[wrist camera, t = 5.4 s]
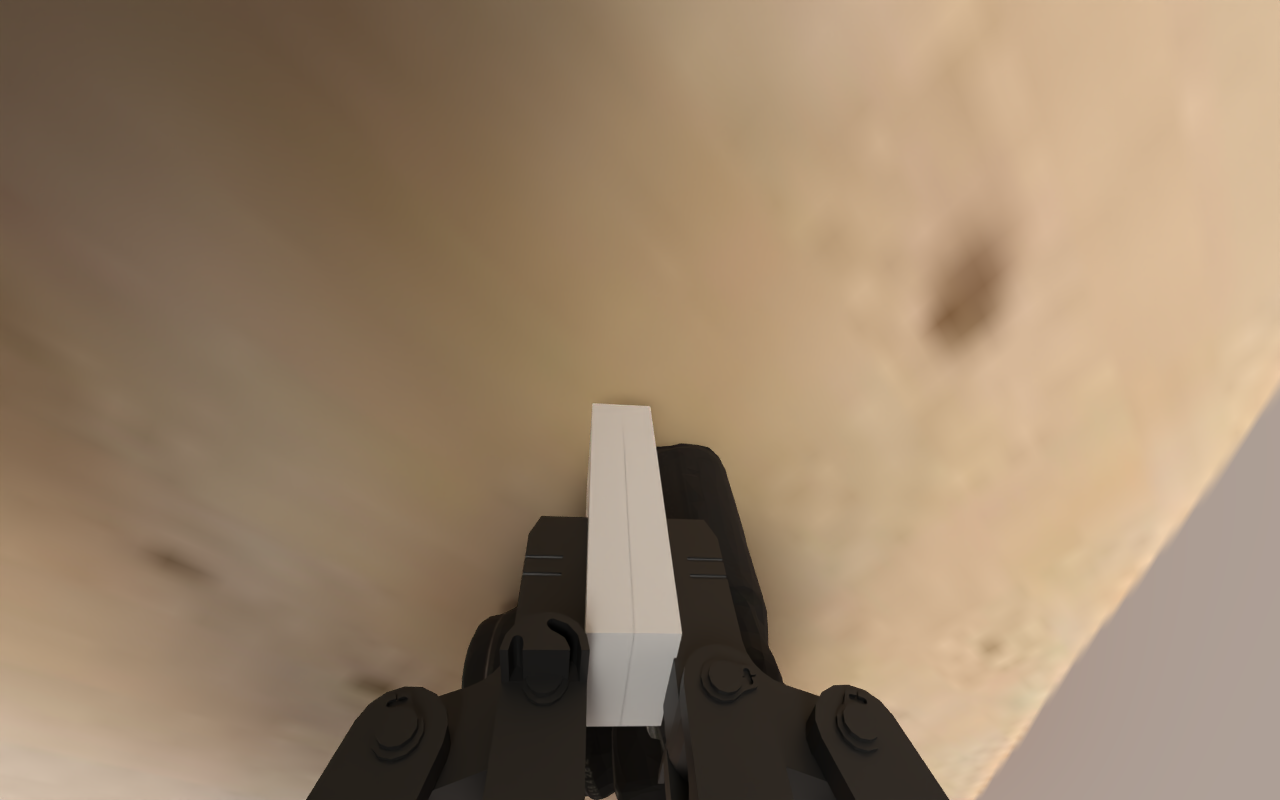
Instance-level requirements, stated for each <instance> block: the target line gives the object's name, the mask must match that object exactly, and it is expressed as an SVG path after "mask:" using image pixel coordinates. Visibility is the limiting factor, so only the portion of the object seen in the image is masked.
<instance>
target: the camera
mask: <svg viewBox="0 0 1280 800" xmlns="http://www.w3.org/2000/svg"><path fill="white" fill-rule="evenodd" d="M656 451H657V458H658V465H659V472H660V479H661V486H662V493H663V501H664V508H665V515H666V519H693V520H704V521H705V522H706V523H707V525H708V526H709V527H710V529H711V530H712V531H713V533H714V534H715V535H716V537H717V538H718V543H719V547H720V551H721V555H722V562H723V563H724V567H725V572H726V579H727V580H728V584H729V588H730V592H731V596H732V600H733V605H734V609H735V613H736V617H737V621H738V625H739V629H740V633H741V638H742V642H743V644H744V647H745V650H746V652H747V654H748V655H749V657H750V658H751V660H752V661H753V663H754V664H755V665H756V666H757V667H758V668H759V669H760V670H761V671H762V672H763V673H765V674H766V675H768V676H769V677H770V678H772V679H773V680H775V681H778V682H780V683H782V684H784V683H783V680H782V676H781V674H780V671H779V669H778V666H777V664H776V662H775V659H774V657H773V655H772V653H771V651H770V649H769V646H768V624H767V610H766V607H765V603H764V600H763V596H762V593H761V590H760V586H759V583H758V580H757V577H756V573H755V570H754V567H753V563H752V560H751V557H750V553H749V550H748V547H747V543H746V539H745V535H744V531H743V528H742V524H741V521H740V517H739V514H738V511H737V507H736V504H735V500H734V497H733V494H732V491H731V488H730V484H729V481H728V478H727V474H726V471H725V468H724V466H723V465H722V462H721V460H720V459H719V457H718V456H717V455H716V454H715V453H714V452H713V451H712V450H711V449H710V448H708V447H704V446H700V445H692V444H677V445H672V446H662V447H656ZM516 612H517V607H516V608H514V609H512V610H511V611H509V612H507V613H504V614H500V615H496V616H491V617H489V618H488V619H486V620H484V621H483V622H482V623H481V624H480V625H479V626H478V628H477V630H476V632H475V634H474V636H473V638H472V640H471V642H470V645H469V647H468V650H467V654H466V659H465V663H464V669H463V676H462V689H463V688H466V687H469V686H471V685H473V684H476V683H478V682H480V681H482V680H484V679H485V678H486V677H488V676H489V675H491V674H492V673H493V672H494V671H495V670H496V669H497V668H498V667H499V666H500V651H499V650H500V647H501V644H502V642H503V639H504V637H505V634H506V633H507V632H508V631H509V630H510V629H511V628H512V627H513V626H514V625H515V619H516ZM784 685H785V684H784ZM665 744H666V732H665V721H664V714H663V718H662V723H661V726H590V727H586V757H585V796H589V797H590V798H592V799H594V800H599V799H603V798H606V797H608V796H609V795H611V794H613V793H614V792H615V794H616V797H617V799H618V800H666V792H665V781H664V784H658V776H659V768H660V764H661V760H662V756H663V752H664V748H665Z"/></svg>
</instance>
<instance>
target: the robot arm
mask: <svg viewBox="0 0 1280 800" xmlns="http://www.w3.org/2000/svg"><path fill="white" fill-rule="evenodd" d="M499 651H500V666H499V667H498V668H497V669H496V670H495V671H494V672H493V673H492V674H491V675H489V676H488V677H486V678H485V679H484V680H482V681H480V682H478V683H476V684H473V685H471V686H469V687H466V688H463V689H460V690H457V691H454V692H451V693H448V694H444V695H441V696H438V695H437V694H435V693H433V692H431V691H429V690H427V689H425V688H423V687H402V688H399V689H396V690H393V691H390V692H386V693H385V694H383V695H382V696H381V697H379V698H378V699H376V700H375V701H373V702H372V703H370V704H369V705H368V706H367V707H366V708H365V710H364V711H363V712H362V713H361V714H360V716H359V717H358V718H357V719H356V720H355V722H354V723H353V725H352V726H351V728H350V730H349V731H348V733H347V735H346V736H345V738H344V739H343V741H342V743H341V744H340V746H339V747H338V749H337V751H336V752H335V754H334V756H333V757H332V759H331V760H330V762H329V764H328V765H327V767H326V768H325V770H324V772H323V773H322V775H321V777H320V778H319V780H318V781H317V783H316V785H315V786H314V788H313V789H312V791H311V793H310V794H309V796H308V798H307V799H306V800H585V757H586V727H590V726H661V723H662V718H663V714H664V721H665V732H666V744H665V748H664V752H663V756H662V760H661V764H660V768H659V776H658V784H664V781H665V792H666V800H949V799H948V797H947V796H946V794H945V793H944V791H943V790H942V788H941V787H940V785H939V784H938V782H937V781H936V779H935V778H934V776H933V775H932V773H931V772H930V770H929V769H928V767H927V766H926V764H925V763H924V761H923V760H922V758H921V757H920V755H919V754H918V752H917V751H916V749H915V748H914V746H913V745H912V743H911V742H910V740H909V739H908V737H907V736H906V734H905V733H904V731H903V730H902V728H901V727H900V725H899V724H898V722H897V721H896V719H895V718H894V716H893V715H892V714H891V713H890V712H889V710H888V709H887V708H886V707H885V706H884V705H883V704H882V702H881V701H880V700H878V699H877V698H875V697H874V696H872V695H871V694H869V693H868V692H866V691H865V690H863V689H859V688H856V687H853V686H850V685H833V686H832V687H830V688H828V689H827V690H825V691H823V692H822V693H821V695H820V696H817V695H814V694H811V693H808V692H805V691H802V690H799V689H796V688H793V687H790V686H787V685H784V684H782V683H780V682H778V681H775V680H773V679H772V678H770V677H769V676H768V675H766V674H765V673H763V672H762V671H761V670H760V669H759V668H758V667H757V666H756V665H755V664H754V663H753V661H752V660H751V658H750V657H749V655H748V654H747V652H746V650H745V647H744V644H743V642H742V638H741V633H740V629H739V625H738V621H737V617H736V613H735V609H734V605H733V600H732V596H731V592H730V588H729V584H728V580H727V579H726V572H725V567H724V563H723V562H722V555H721V551H720V547H719V543H718V538H717V537H716V535H715V534H714V533H713V531H712V530H711V529H710V527H709V526H708V525H707V523H706V522H705V521H704V520H693V519H666V515H665V508H664V501H663V493H662V486H661V479H660V472H659V465H658V458H657V451H656V443H655V436H654V429H653V422H652V415H651V408H650V406H637V405H618V404H600V403H592V417H591V433H590V448H589V463H588V478H587V501H586V517H557V516H541V517H540V519H539V520H538V522H537V523H536V524H535V526H534V527H533V529H532V530H531V531H530V533H529V535H528V542H527V548H526V555H525V561H524V567H523V576H522V580H521V587H520V593H519V599H518V606H517V612H516V619H515V625H514V626H513V627H512V628H511V629H510V630H509V631H508V632H507V633H506V634H505V637H504V639H503V642H502V644H501V647H500V650H499Z"/></svg>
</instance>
